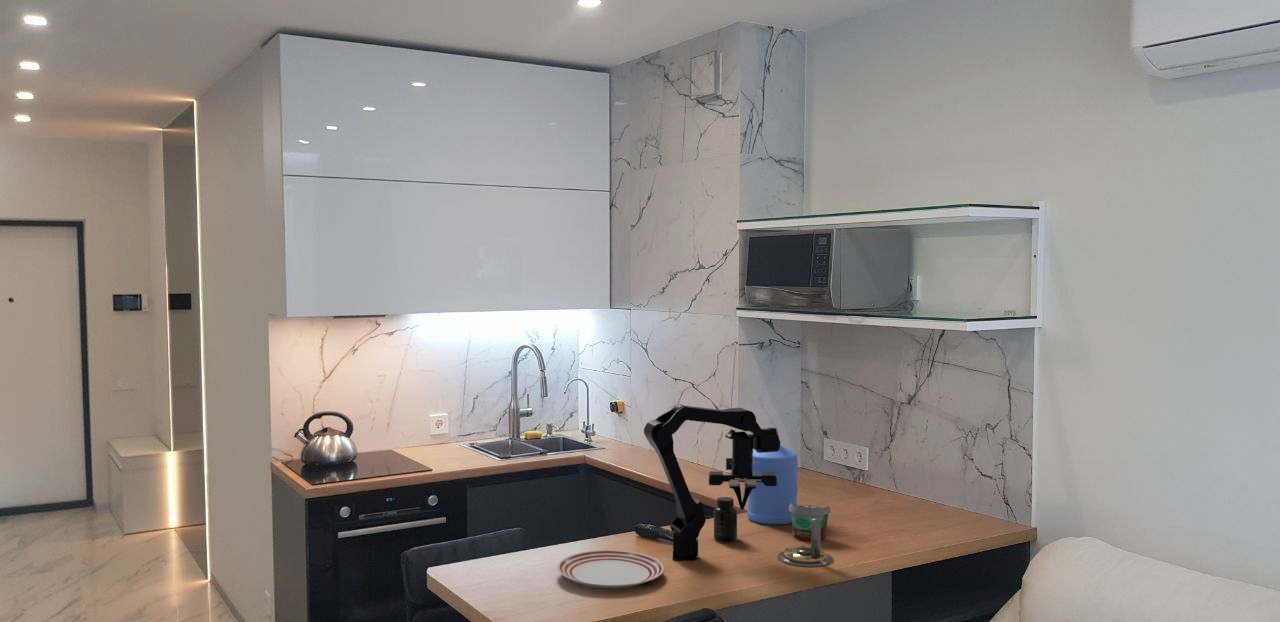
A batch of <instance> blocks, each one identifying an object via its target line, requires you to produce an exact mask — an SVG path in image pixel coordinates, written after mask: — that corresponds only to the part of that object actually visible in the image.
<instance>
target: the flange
mask: <svg viewBox="0 0 1280 622" xmlns="http://www.w3.org/2000/svg"><path fill="white" fill-rule="evenodd" d="M809 548H810V547H808V548H799V549H797V553H798V554H801V555H811V549H809ZM784 551H785V550H783V551H781V552H780V553H778V554H777V559H778V561H780V562H781V561H782V562H781V563H783V562H784V563H783V564H786V565H790V566H794V567H799V568H801V567H802V568H817V567H818V568H820V567H824V566H828V565H830V564H832V563H833V561H834V558H833V556H832V555H830V554H828V553H826V554H827V559H826V560H825V561H822V560H821V561H819V563H798V562H793V561H790V560H787V559H786V558H784Z"/></svg>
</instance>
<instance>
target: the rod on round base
mask: <svg viewBox="0 0 1280 622" xmlns="http://www.w3.org/2000/svg"><path fill="white" fill-rule="evenodd" d="M820 523H821V519H819V518H812V519H811V542H810V547H807V546H806V545H805V544H804V545H800V546H799V547H798V546H797V547H785V548H784V550H783V551H784V558H786V559H787V560H790V561H793V562H798V563H819V561H821V560H822V561H825V560H826V559H827V554H828V553H827V552H826V551H824V549H823V548H821V541H820ZM799 548H809V549H811V555H801V554H798V553H797V549H799Z"/></svg>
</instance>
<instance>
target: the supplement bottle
mask: <svg viewBox="0 0 1280 622" xmlns="http://www.w3.org/2000/svg"><path fill="white" fill-rule="evenodd" d="M734 505H735V504H734V498H733V497H728V496H722V497H721V496H720V497H718V498H717V499H716V506H717V507H715V508H714V510H713V538H714V540H715V541H716V540H718V541H717V542H719V541H723V542H722V543H731V542H730V541H732V542H735V541H736V540H737V539H738V511H737V509H736V508H735V506H734Z"/></svg>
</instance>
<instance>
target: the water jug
mask: <svg viewBox="0 0 1280 622" xmlns="http://www.w3.org/2000/svg"><path fill="white" fill-rule="evenodd" d="M777 434H778V435H779V430H777ZM798 468H799V459H798V454H797V453H796V452H795V451H793V450H791V449H788V448H787V447H785V446H783V445H781V444H780V448H779V450H778V451H777V452H764V453H757V452H756V450H755V449H753V475H761V472H774V473H775V475H776V477H777V486H765V485H764V484H763V482H756V484H755V485H756V489H752V491H751V493H750V495H749V497H748V499H747V510H746V514H747V515H746V516H747V518H748V519H749V520H750V521H752V522H753V523H756V524H761V525H770V526H772V525H773V526H781V525H788V524H792V516H791V512H790V511H789V505H790V504H792V505H798V503H797V502H798V490H799V489H798V487H799V486H798Z"/></svg>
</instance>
